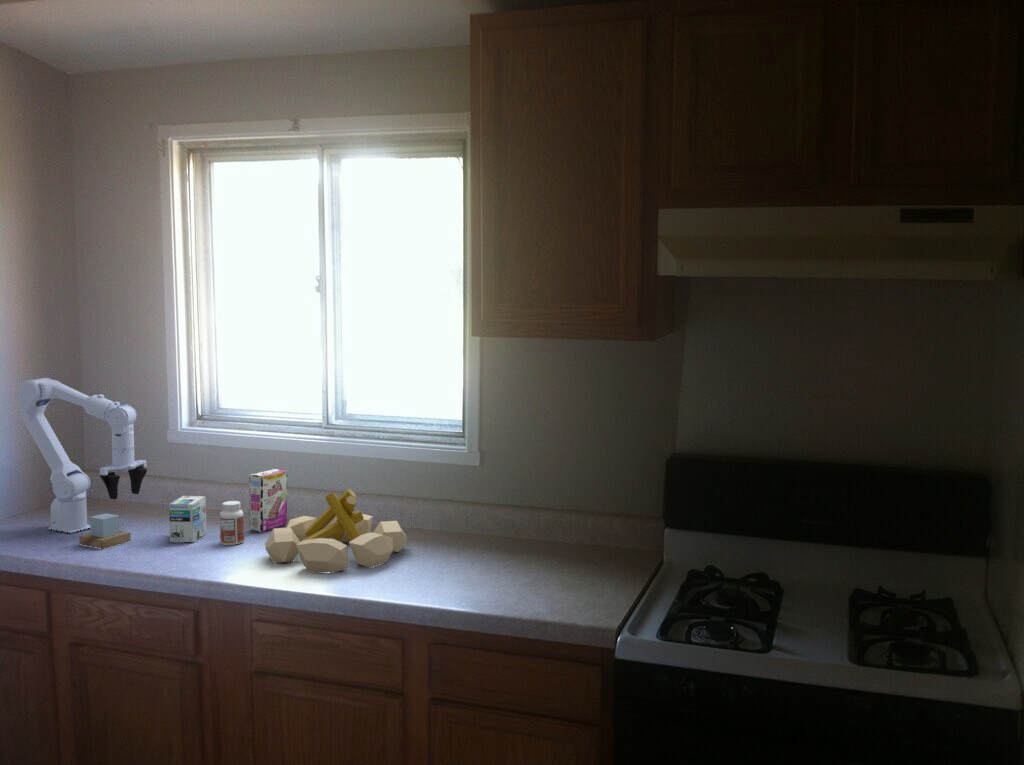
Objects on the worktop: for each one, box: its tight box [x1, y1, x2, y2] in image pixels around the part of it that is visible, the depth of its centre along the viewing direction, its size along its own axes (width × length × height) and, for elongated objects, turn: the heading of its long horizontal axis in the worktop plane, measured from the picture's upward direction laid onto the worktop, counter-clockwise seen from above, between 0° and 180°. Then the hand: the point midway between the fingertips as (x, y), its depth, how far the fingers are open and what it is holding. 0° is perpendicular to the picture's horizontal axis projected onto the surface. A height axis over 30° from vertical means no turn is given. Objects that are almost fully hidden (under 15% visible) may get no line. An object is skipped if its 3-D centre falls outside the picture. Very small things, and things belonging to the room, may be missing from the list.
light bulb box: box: [168, 495, 207, 543], centre depth 259 cm, size 11×7×11 cm, turn 179°
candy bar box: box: [248, 468, 288, 534], centre depth 271 cm, size 11×5×16 cm, turn 154°
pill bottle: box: [219, 500, 245, 546], centre depth 255 cm, size 6×6×11 cm
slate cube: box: [89, 512, 120, 538], centre depth 252 cm, size 5×5×5 cm
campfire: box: [264, 488, 409, 574], centre depth 245 cm, size 35×34×17 cm
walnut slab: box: [78, 530, 132, 550], centre depth 253 cm, size 9×9×3 cm
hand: (124, 496), depth 266 cm, fingers open, 7 cm apart
